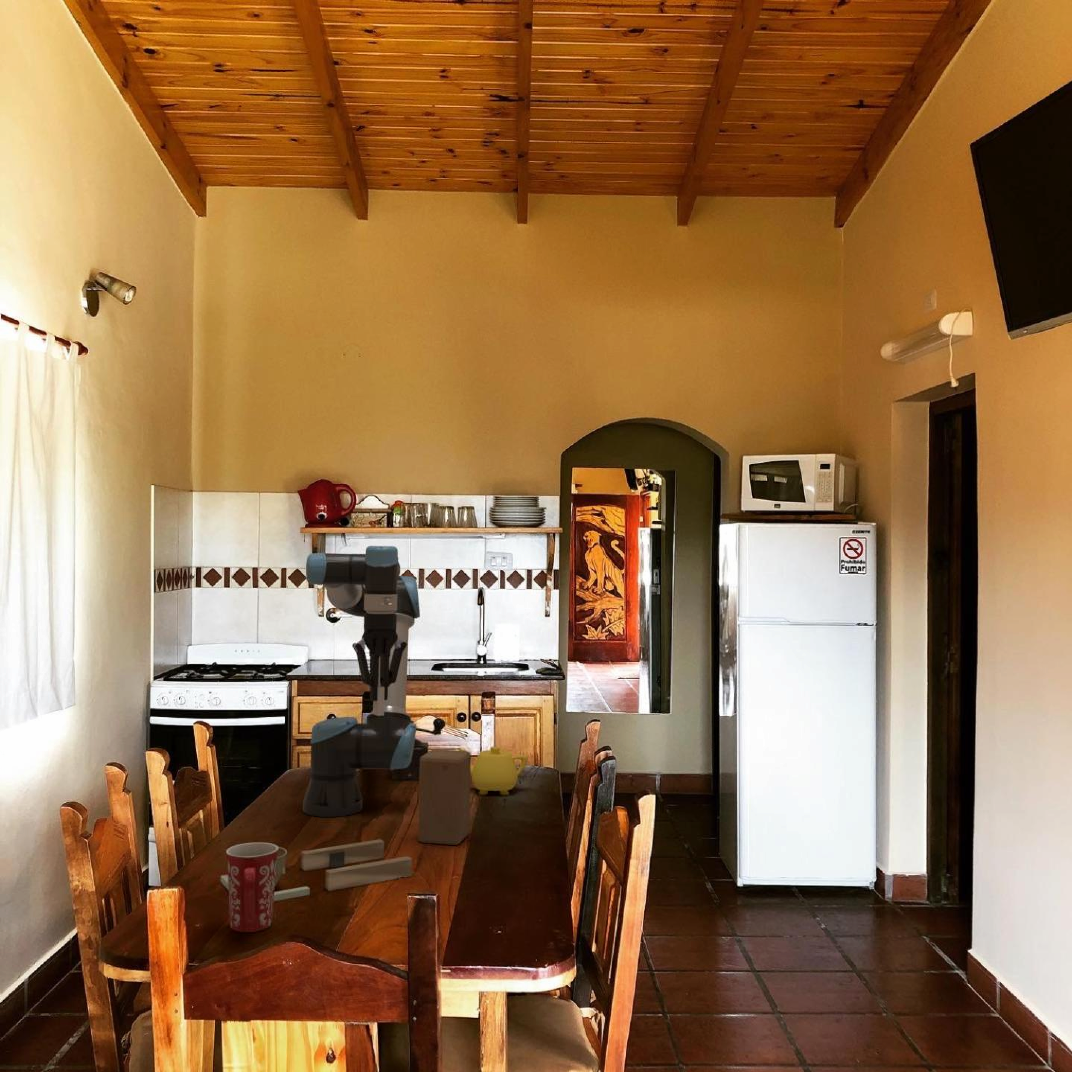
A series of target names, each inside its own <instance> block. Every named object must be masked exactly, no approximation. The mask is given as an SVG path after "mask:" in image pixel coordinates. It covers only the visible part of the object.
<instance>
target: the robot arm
mask: <svg viewBox="0 0 1072 1072" xmlns="http://www.w3.org/2000/svg"><path fill="white" fill-rule="evenodd" d="M305 577H306V581H307V583H309V584H310V585H317V586H320V585H322V586H323V587H324V589H325V590H326V596H327V599H328V601H329V603H330V604H331V605H332V606H333V607H334V608H336V609H337V610H339V611H341V612H343V613H346V614H347V615H351V616H355V617H360V618H363V634H362V636H361V639H360V640H358V641H357V642H354V643H352V648H353V650H354V652H355V653H356V657H357V659H356V660H357V662H358V667H359V671H360V672H359V673H360V677H361V681H362V683H363V684H364V685H368V686H369V688H370V689H369V699H370V701H371V702H372V703H373V705H372V711H370V713H368V714H367V715H366V723H365V722H363V723H359V721H358V718H357V717H355V716H343V717H342V716H341V717H335V718H328V719H324V720H322V721H318V722H317V723H315V724H314V725H313V726H312V728H311V738H310V742H309V743H310V775H309V777H310V778H309V779H310V780H309V783H308V787H307V789H306V792H305V794H304V799H303V800H302V812H303V813H304V814H306V815H309V816H315V817H322V818H323V817H325V818H327V817H328V818H334V817H344V816H349V815H353V814H357V813H359V812H361V811H362V810H363V797H362V794H361V791H360V787H359V784H358V781H357V770H391V771H393V769H402V768H406V767H408V766H409V765H410V763H411V759H412V755H413V749H414V743H415V739H416V734H417V730H416V728H417V724H416V723H415V722H414V723H411V721H412V717H411V715H410V714H409V713H408V712H407V711H406V710H407V685H408V684H407V681H408V680H407V679H408V657H409V655H408V654H409V635H410V634H409V631H410V628H412V627H413V626H414V625H415V623H416V622H415V620H416V619H419V618H420V616H421V614H420V601H419V600H420V599H419V590H418V589H419V588H418V582H417V579H416V578H414V577H413V576H406V575H405V576H403V575H401V564H400V562H399V551H398V548H397V546H392V545H391V546H390V545H368V546H367V547H366V548H365V553H327V552H318V553H317V552H316V553H315V552H314V553H310V554H309V555H308V556H307V558H306V564H305ZM366 648H367V650H368V655H369V664H368V659H367V655H366V652H365V649H366Z"/></svg>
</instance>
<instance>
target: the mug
mask: <svg viewBox="0 0 1072 1072" xmlns="http://www.w3.org/2000/svg"><path fill="white" fill-rule="evenodd" d="M278 847H279V846H278V845H276V844H274V843H270V842H261V841H260V842H247V843H240V844H235V845H233V846H231V847H229V848H227V849H226V851H225V855H226V857H227V875H228V885H229V890H228V906H229V907H228V908H229V909H228V911H229V927H230V928H231V930H233V931H236V932H240V933H242V932H243V933H249V932H250V933H253V932H258V931H262V930H265V929H267V928H269V927H270V926H271V925H272V924H273V915H274V914H273V913H274V904H275V903H274V902H275V901H274V892H275V889H276V888H275V887H276V885H275V875H276V862H277V852H278V849H279V848H278Z"/></svg>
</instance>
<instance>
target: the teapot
mask: <svg viewBox="0 0 1072 1072" xmlns="http://www.w3.org/2000/svg"><path fill="white" fill-rule="evenodd" d="M457 750H460V751H467V750H466V749H464V748H460V747H458V748H457ZM511 753H512V752H510V750H509V751H508V750H501V747H500V746H490V748H489V749H486V750H481V751H480V752H479V753H478V756H477V758H476V759H475V762H474V765H473V764H472V762H471V763H470V778H471V781H472V784H473V785H474V786H473V787H475V789H477V790H478V791H479V792H478V795H480V796H486V795H488V794H489V791H493V792H497V791H498V792H499V794H500V795H501V796H509V795H510V793H509V791H510V790H512V789H513V788H515V786H516V784H517V782H518V778H519V777H518V776H519V775H520V774H521V772H523V770H524V768H525V767H526V765H528V760H529V759H528V756H527V755H525V754H518V755H512V754H511ZM514 760H520V764H519V767H518V769H517V765H516V763H515V762H516V761H514Z"/></svg>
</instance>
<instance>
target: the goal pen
mask: <svg viewBox="0 0 1072 1072" xmlns="http://www.w3.org/2000/svg"><path fill="white" fill-rule="evenodd" d="M285 874H286V867H285V866H284V868H283V871H282V874H281V875H285ZM220 883H221V884H222V885H223V887H225V888H226V889H227V890H228V891H229V885H228V874H224V875H220ZM310 891H311V889H310V887H308V886H301V887H295V888H289V889H284V890H278V891H274V902H278V901H283V900H288V899H294V898H299V897H304V896H310Z"/></svg>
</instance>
